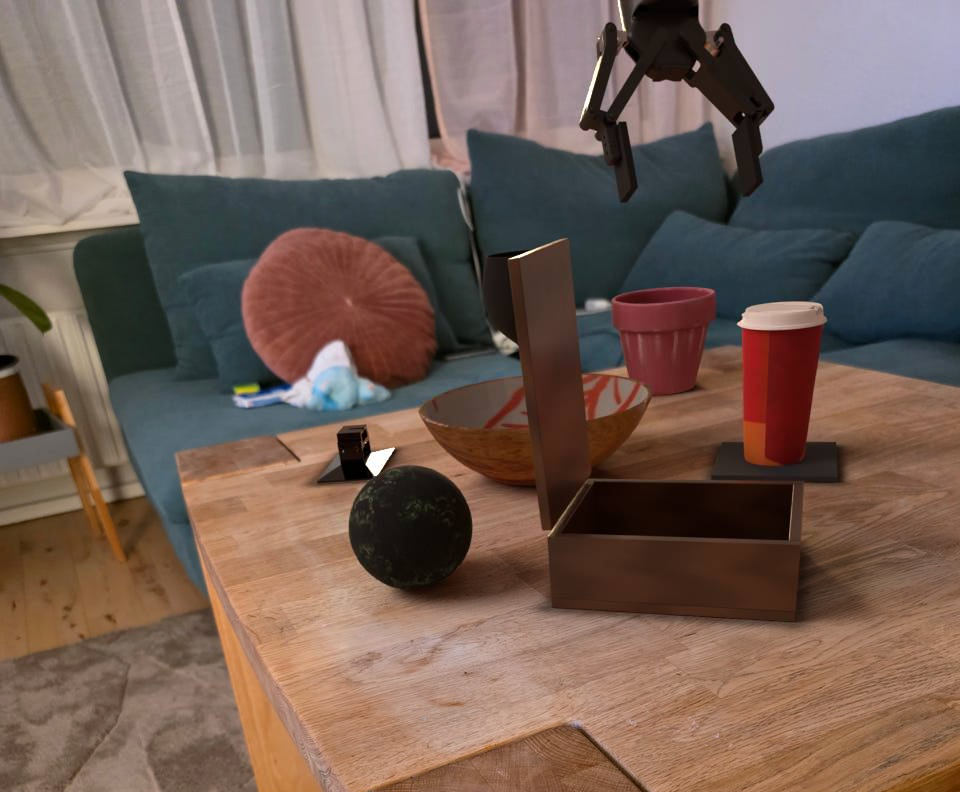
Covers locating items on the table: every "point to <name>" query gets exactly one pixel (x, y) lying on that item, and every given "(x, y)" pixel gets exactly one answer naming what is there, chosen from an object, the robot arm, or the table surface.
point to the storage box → (680, 548)
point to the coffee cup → (779, 379)
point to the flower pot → (664, 334)
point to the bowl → (504, 423)
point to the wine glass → (500, 293)
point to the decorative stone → (410, 527)
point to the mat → (811, 468)
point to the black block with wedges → (355, 457)
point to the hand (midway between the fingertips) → (692, 192)
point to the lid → (551, 375)
